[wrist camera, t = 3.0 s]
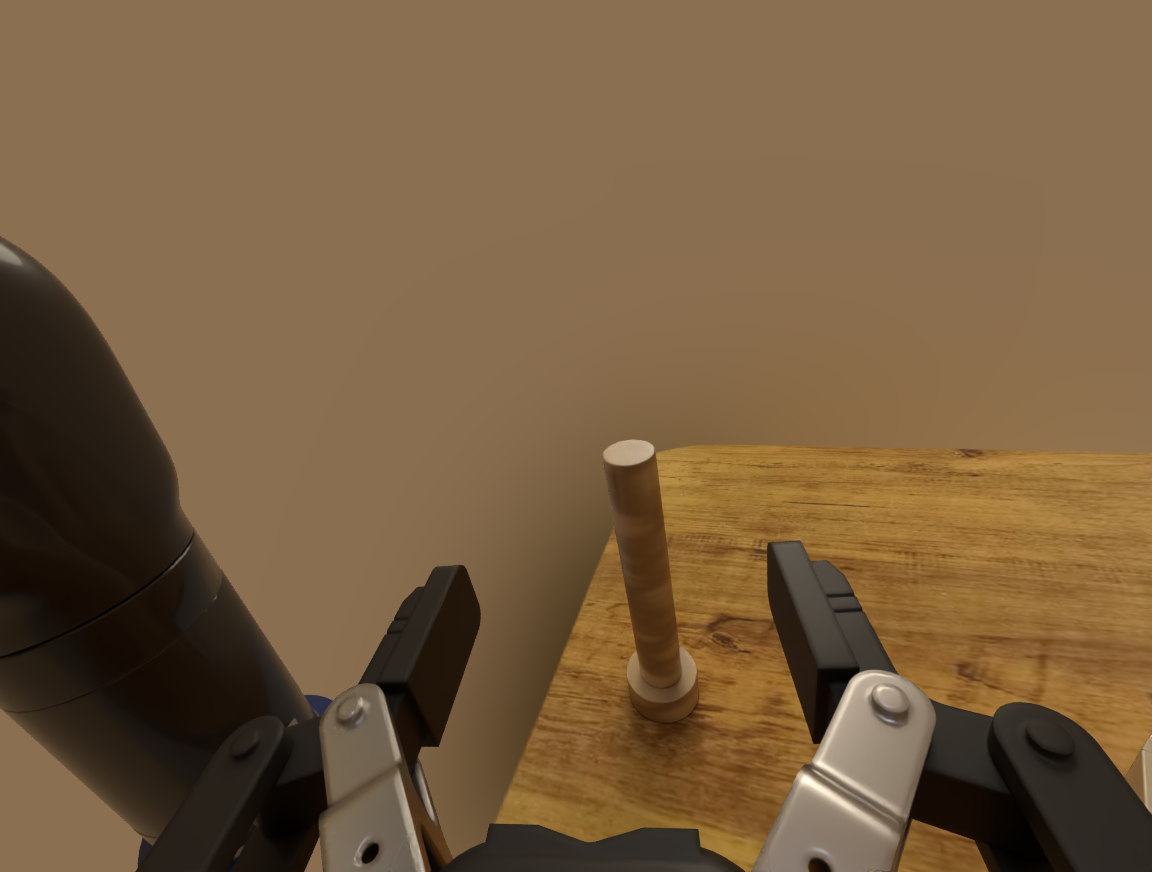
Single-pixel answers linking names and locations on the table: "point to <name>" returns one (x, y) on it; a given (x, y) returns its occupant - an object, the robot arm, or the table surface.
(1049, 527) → the table surface
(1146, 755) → the cream open cylinder
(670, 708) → the wooden pestle
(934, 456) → the table surface
